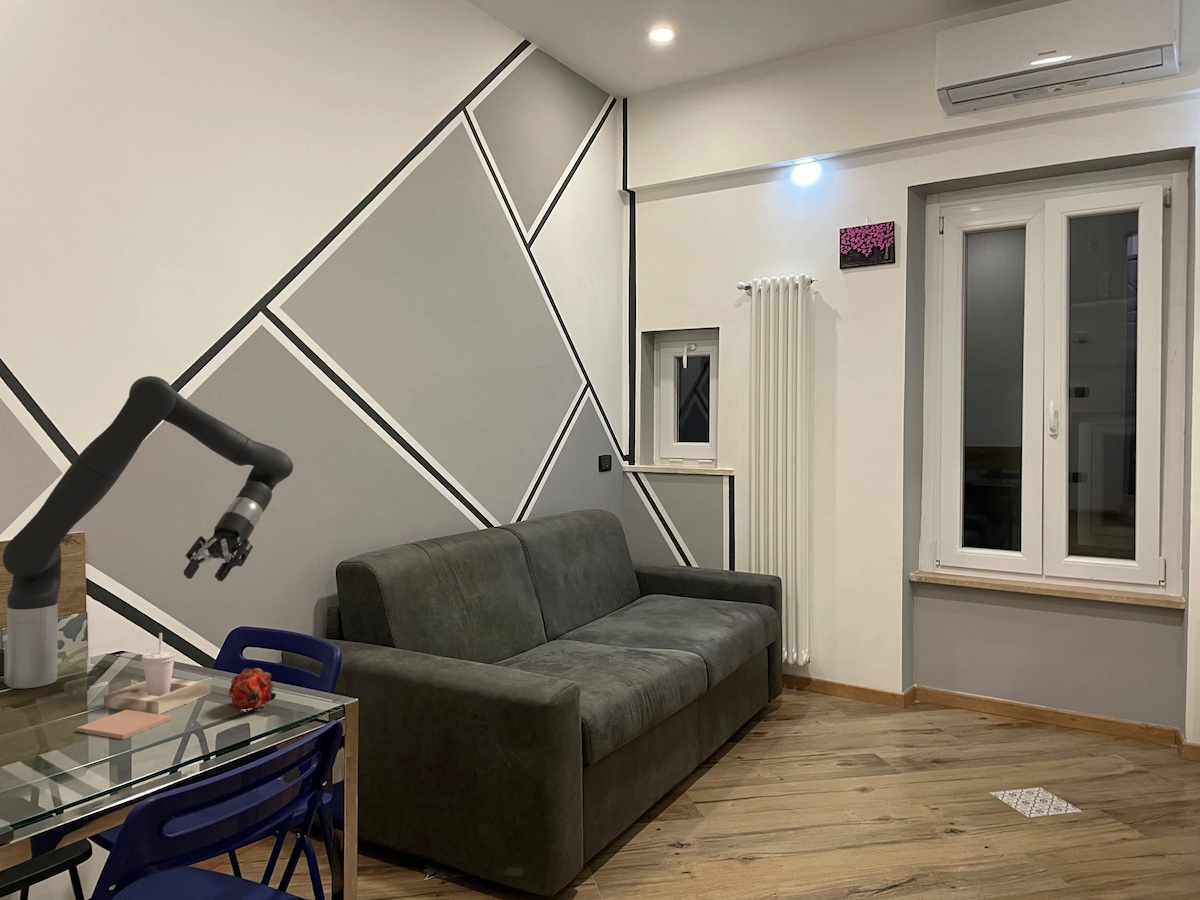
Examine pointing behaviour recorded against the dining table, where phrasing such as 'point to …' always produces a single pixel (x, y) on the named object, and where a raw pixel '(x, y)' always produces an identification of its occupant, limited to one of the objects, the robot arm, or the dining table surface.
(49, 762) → the dining table surface
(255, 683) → the dragon fruit
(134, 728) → the coaster
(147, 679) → the smoothie
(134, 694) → the block
